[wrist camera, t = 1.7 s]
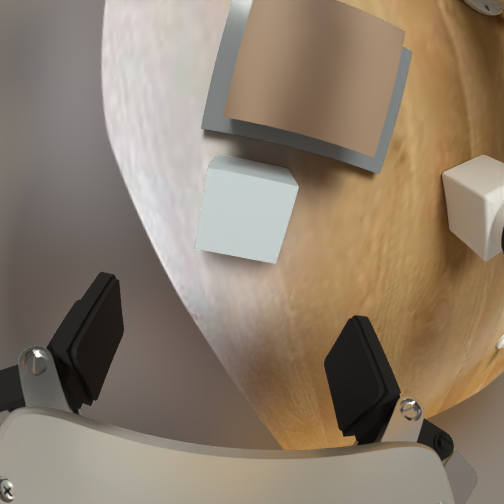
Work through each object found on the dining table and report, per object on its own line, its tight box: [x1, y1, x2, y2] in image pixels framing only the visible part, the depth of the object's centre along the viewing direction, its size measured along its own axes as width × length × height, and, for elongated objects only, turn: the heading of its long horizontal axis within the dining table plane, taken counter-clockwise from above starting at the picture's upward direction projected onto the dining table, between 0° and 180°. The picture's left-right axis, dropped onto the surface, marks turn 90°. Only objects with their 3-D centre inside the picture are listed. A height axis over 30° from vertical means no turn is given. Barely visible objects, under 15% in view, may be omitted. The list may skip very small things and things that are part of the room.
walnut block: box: [223, 0, 405, 158], centre depth 14 cm, size 9×9×6 cm
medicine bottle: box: [442, 155, 504, 262], centre depth 17 cm, size 7×7×12 cm
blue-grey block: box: [195, 154, 299, 264], centre depth 21 cm, size 6×6×6 cm
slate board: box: [201, 0, 412, 174], centre depth 18 cm, size 15×12×1 cm
